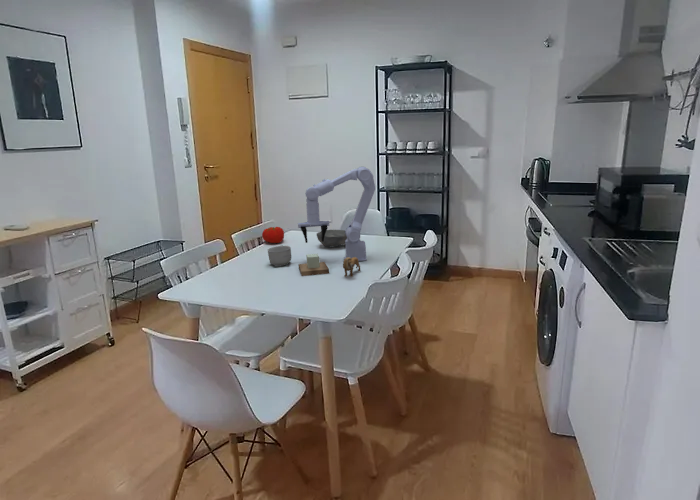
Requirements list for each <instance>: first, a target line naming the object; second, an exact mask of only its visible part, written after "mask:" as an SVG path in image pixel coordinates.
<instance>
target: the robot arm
mask: <svg viewBox="0 0 700 500" xmlns="http://www.w3.org/2000/svg"><path fill="white" fill-rule="evenodd" d="M350 180H351V181H360V183H361V186H362V187H363V191H362V194H361V197H360V199H359V202H358V204H357V208H356V210H355V212H354V215H353V218H352V220H351V222H350V223H349V225H348V226H347V227H346V229H345V234H346V236H347V239H346V240H345V244H344V245H345V256H344V257H343V259H345V258H347V257H350V258H353V257H356V258H357V259H358V261H359V262H364V261H367V246H366V245H367V244H366V242H365V241H364V240H361V230H362V227H363V223H364V220H365V217H366V214H367V212H368V210H369V207H370V204H371V201H372V199H373V196H374V194H375V191H376V183H375V179H374V175H373V173H372V172H371V170H370V169H369V168H367V167H366V166H359V167H357V168H356V167H355V168H353V169H350V170H349V171H346V172H344V173H342V174H341V175H338V176H337V177H335V178H333V179H328V178H327V179H326V178H324V179H322V181H319V182H318V183H316V184H315V183H314V184H312V186H309V187H307V189H306V190H305V197H306V222H298V223H297V228H298V229H300V230H301V232H302V234H303V238H304V241H305V243H306V244H308V233H307V232H308V230H307V228H313V227H320V232H321V234H322V235H321V239H322V242H323V241H324V236H325V233H326V230H328V227H329V226H330V220H320V219H321V218H320V204H319V197H322V196H324V195H327V194H329V193H331V192H333V191H334V189H335V187H337V186H339V185H341V184H344V183H347V182H348V181H350Z"/></svg>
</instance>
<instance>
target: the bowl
mask: <svg viewBox="0 0 700 500" xmlns="http://www.w3.org/2000/svg"><path fill="white" fill-rule="evenodd" d="M345 230H346V229H345ZM345 230H343V229H327V230H326V233H325V236H324V241H323V242H322V239H321V235H322V234H321V231H318V232H317V233H316V238H317V241H318V242H320V244H321V245H322V246H324V247H326V248H333V247H335V248H336V247H340V246H343V245H345V240H346V239H347V236H346V234H345Z"/></svg>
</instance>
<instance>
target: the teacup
mask: <svg viewBox="0 0 700 500" xmlns="http://www.w3.org/2000/svg"><path fill="white" fill-rule="evenodd" d="M267 255H268V259H269V263H271V264H272V265H273V266H274V267H275V266H276V267H281V266H282V267H283V266H286V265H288V264H289V263H290V262H291V260H292V247H291V246H290V245H283V244H280V245H275V246H272V247H269V248H268V249H267Z"/></svg>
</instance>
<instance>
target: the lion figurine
mask: <svg viewBox="0 0 700 500" xmlns="http://www.w3.org/2000/svg"><path fill="white" fill-rule="evenodd" d="M343 259H344V258H343ZM355 265H356V267H355ZM342 267H343V269H344V277H346V278H347V277H348V272H349V273H350V274H349V275H350V276H349V277H354V274H353V273H354V272H353V271H354V267H355V269H357V272H361V265H360V261H358V259H357V258H356V257H353V258H350V257H347V258H345V259H344V260H343V261H342Z"/></svg>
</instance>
